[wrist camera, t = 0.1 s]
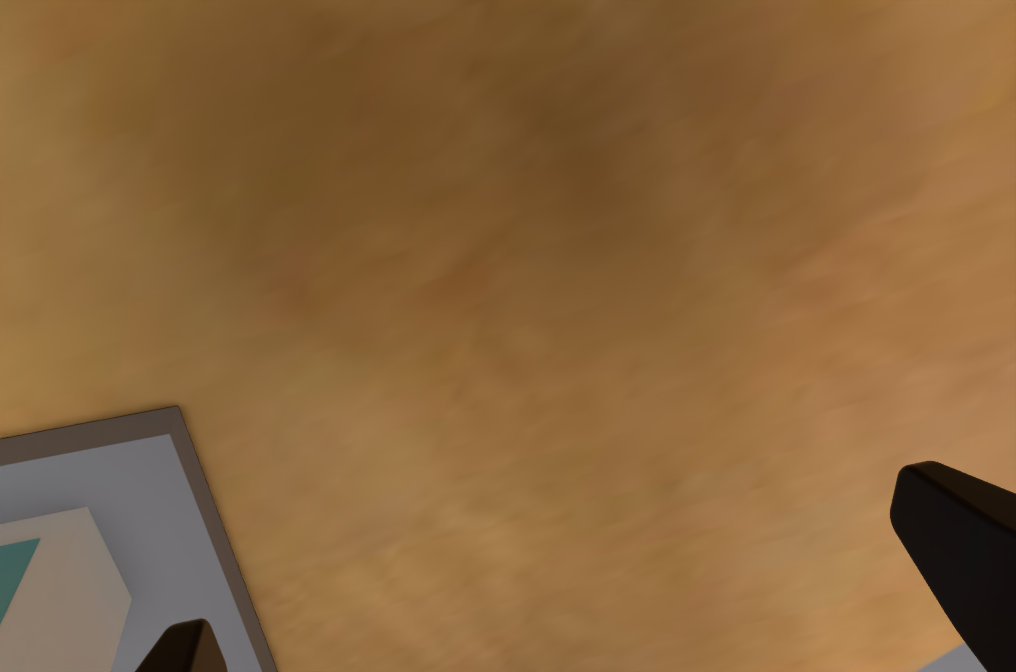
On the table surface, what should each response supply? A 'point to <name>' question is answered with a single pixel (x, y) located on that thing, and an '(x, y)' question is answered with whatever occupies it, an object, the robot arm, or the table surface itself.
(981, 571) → the robot arm
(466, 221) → the table surface
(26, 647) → the carton
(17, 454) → the shelf board
